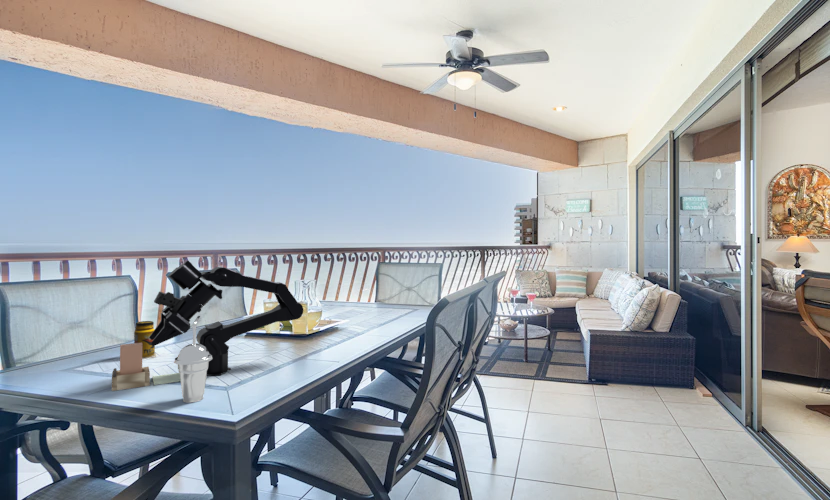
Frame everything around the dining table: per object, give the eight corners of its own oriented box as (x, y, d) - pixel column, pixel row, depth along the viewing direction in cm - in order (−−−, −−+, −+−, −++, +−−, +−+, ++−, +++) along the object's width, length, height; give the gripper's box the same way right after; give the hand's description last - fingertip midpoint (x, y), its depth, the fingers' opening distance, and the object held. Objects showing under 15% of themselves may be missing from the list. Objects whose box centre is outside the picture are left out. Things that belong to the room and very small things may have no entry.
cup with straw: (165, 404, 101) (166, 321, 101) (191, 391, 110) (192, 315, 110) (196, 406, 99) (197, 322, 99) (220, 394, 108) (221, 316, 108)
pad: (182, 373, 126) (182, 372, 126) (185, 380, 119) (185, 379, 119) (152, 377, 122) (152, 376, 122) (154, 385, 115) (154, 383, 115)
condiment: (156, 357, 145) (156, 322, 145) (126, 360, 140) (126, 324, 140) (155, 353, 151) (155, 319, 151) (126, 356, 146) (127, 321, 146)
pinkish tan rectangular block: (141, 381, 118) (142, 342, 118) (141, 384, 115) (142, 344, 116) (119, 384, 115) (120, 344, 115) (119, 387, 113) (120, 346, 113)
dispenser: (148, 378, 121) (148, 364, 121) (149, 385, 115) (149, 370, 115) (112, 383, 116) (112, 368, 116) (111, 391, 110) (111, 375, 110)
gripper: (170, 279, 129) (126, 318, 122) (177, 283, 113) (126, 328, 107) (199, 303, 133) (158, 342, 127) (208, 310, 118) (162, 355, 111)
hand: (151, 341), depth 118 cm, fingers open, 9 cm apart
